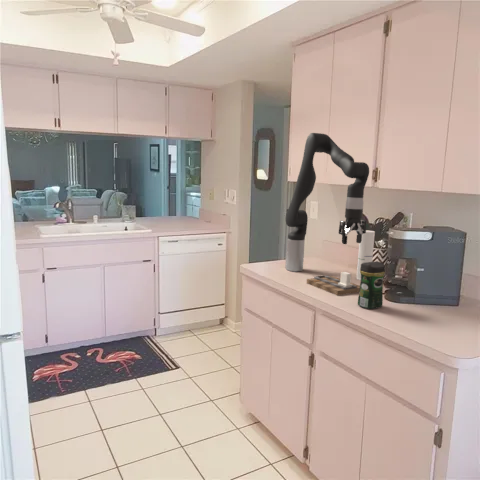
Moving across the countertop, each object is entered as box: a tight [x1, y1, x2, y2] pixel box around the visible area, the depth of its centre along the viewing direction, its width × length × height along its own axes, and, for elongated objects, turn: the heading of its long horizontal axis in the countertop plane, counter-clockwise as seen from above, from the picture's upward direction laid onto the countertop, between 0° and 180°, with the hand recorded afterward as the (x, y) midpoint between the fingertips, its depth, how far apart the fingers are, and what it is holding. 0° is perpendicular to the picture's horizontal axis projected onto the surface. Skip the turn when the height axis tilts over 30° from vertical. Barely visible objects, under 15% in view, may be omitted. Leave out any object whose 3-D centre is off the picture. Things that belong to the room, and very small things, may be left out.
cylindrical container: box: [355, 229, 376, 281], centre depth 209 cm, size 7×7×25 cm
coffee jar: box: [357, 260, 386, 310], centre depth 165 cm, size 10×8×19 cm
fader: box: [338, 271, 352, 288], centre depth 187 cm, size 5×4×6 cm
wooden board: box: [306, 274, 360, 296], centre depth 193 cm, size 22×16×3 cm
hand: (351, 243), depth 184 cm, fingers open, 8 cm apart
